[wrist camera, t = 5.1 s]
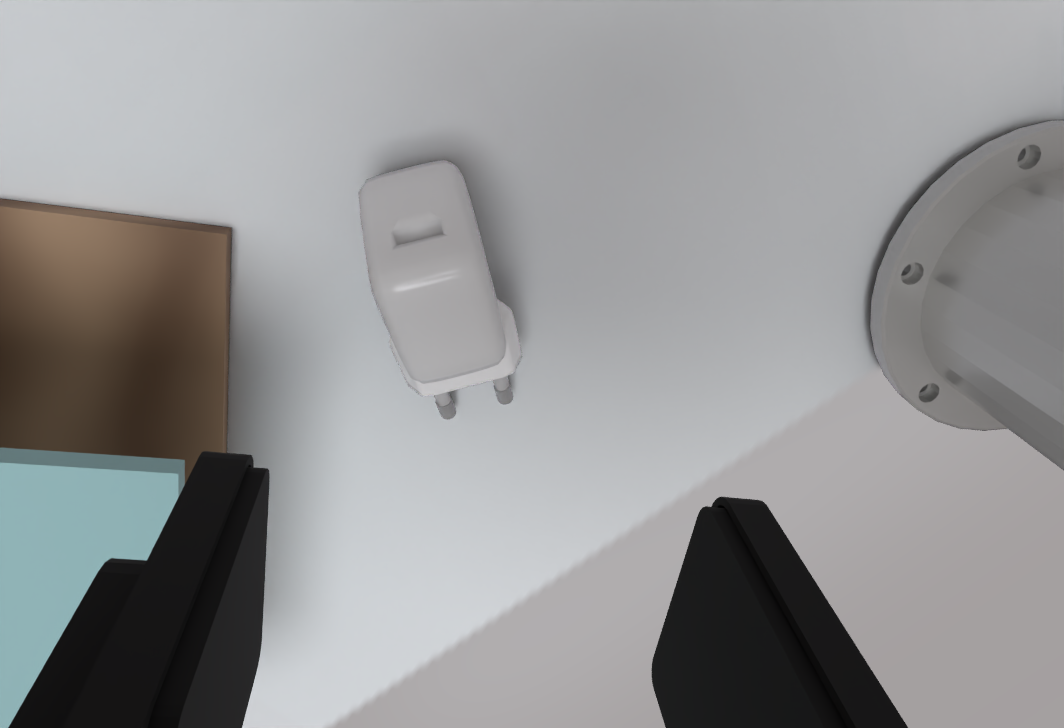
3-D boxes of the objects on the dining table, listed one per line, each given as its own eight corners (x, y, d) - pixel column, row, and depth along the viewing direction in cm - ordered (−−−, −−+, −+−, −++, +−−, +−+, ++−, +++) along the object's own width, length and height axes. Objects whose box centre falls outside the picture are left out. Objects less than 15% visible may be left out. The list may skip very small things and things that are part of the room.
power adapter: (515, 335, 33) (544, 441, 30) (413, 362, 33) (432, 470, 29) (470, 141, 25) (503, 257, 22) (335, 174, 25) (349, 296, 22)
